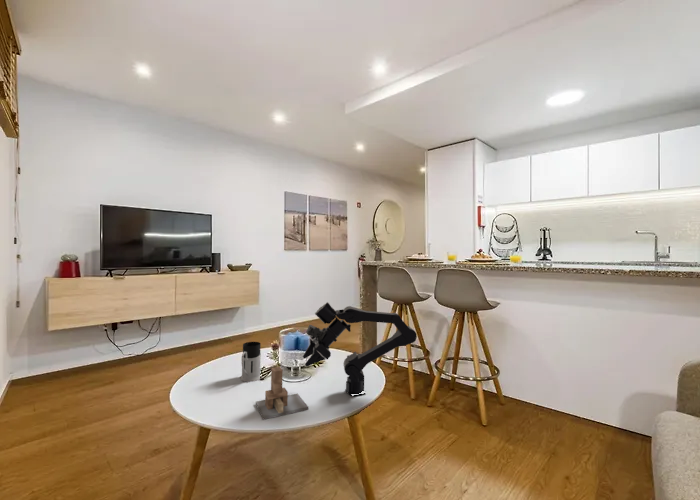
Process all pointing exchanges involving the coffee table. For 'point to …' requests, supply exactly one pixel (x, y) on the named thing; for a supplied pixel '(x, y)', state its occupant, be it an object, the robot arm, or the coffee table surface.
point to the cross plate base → (287, 409)
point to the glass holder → (251, 361)
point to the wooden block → (276, 388)
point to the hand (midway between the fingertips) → (304, 361)
